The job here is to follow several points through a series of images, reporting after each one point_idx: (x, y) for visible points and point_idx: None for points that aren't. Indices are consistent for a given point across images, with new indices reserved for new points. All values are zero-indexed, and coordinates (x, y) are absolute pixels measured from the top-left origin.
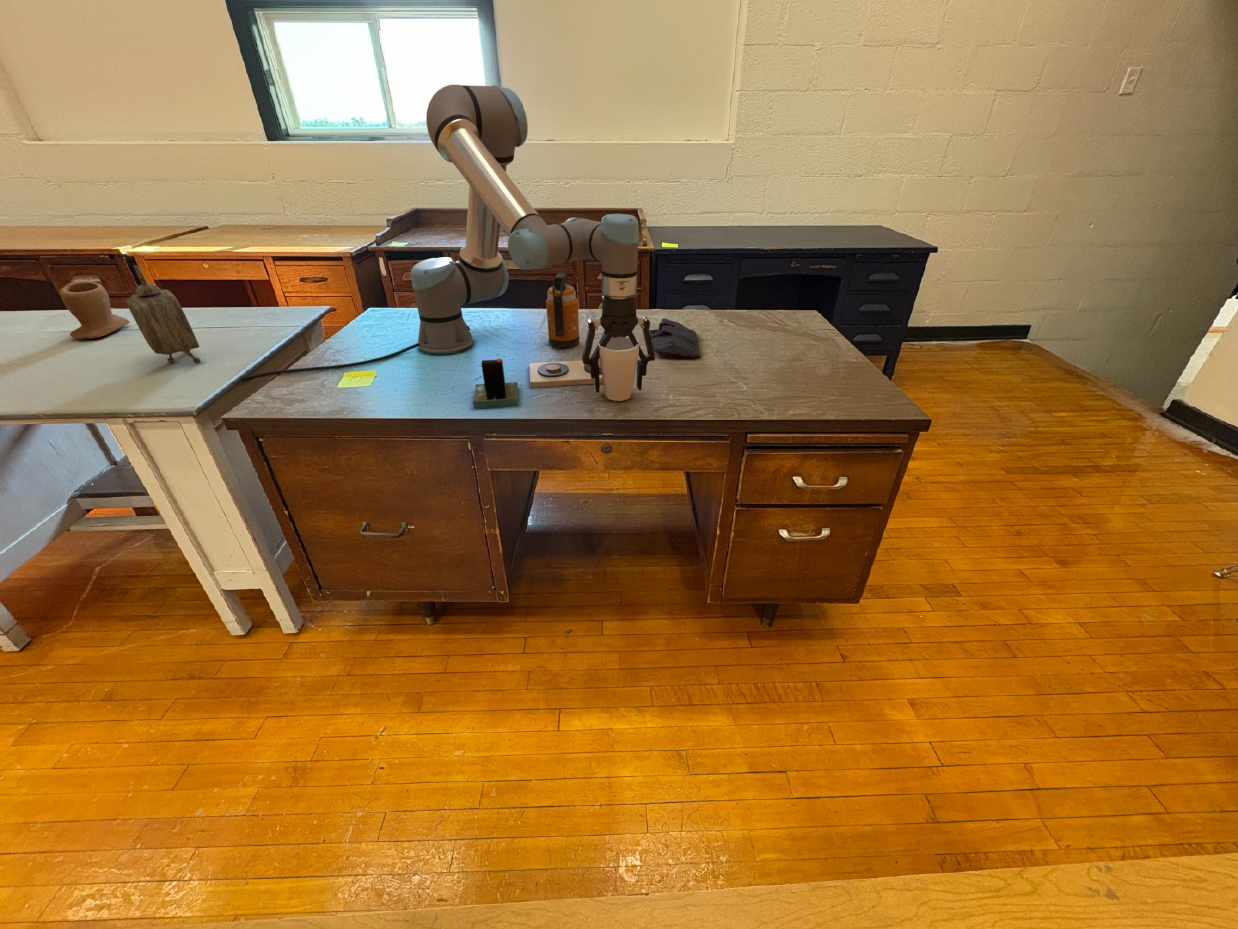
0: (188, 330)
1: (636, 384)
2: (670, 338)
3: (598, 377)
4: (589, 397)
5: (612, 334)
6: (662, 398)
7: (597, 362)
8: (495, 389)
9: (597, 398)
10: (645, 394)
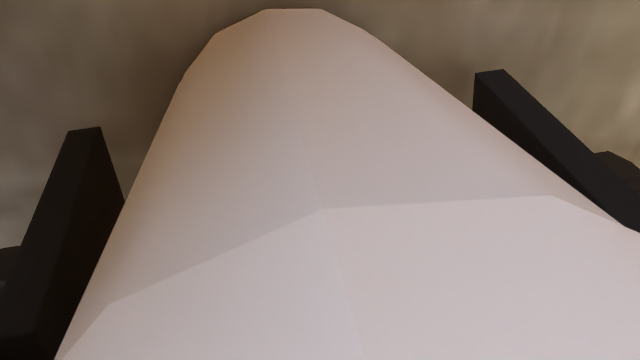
0: None
1: (478, 78)
2: None
3: None
4: (38, 129)
5: None
6: (611, 133)
7: (30, 341)
8: None
9: (114, 144)
10: (514, 72)
